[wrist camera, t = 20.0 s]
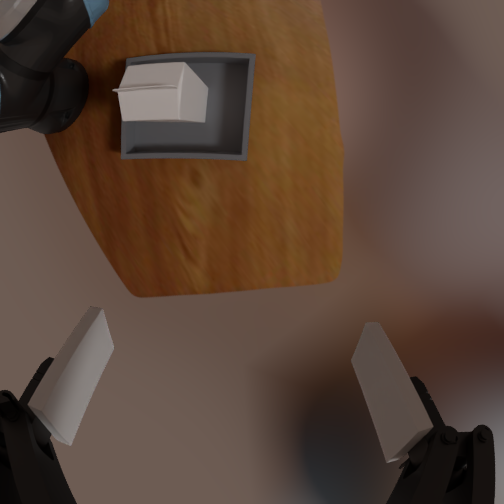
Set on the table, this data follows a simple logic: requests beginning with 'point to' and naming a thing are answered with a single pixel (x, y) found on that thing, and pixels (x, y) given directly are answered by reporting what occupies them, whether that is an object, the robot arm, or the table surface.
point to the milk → (162, 93)
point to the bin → (217, 112)
